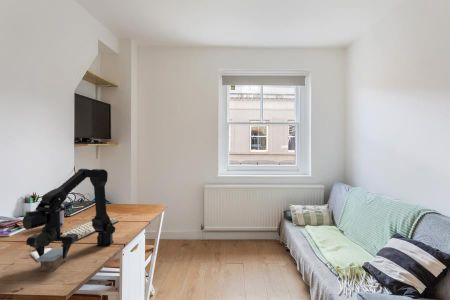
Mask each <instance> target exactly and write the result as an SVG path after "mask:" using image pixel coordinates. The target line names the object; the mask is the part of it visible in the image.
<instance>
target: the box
mask: <svg viewBox="0 0 450 300" xmlns="http://www.w3.org/2000/svg"><path fill="white" fill-rule="evenodd" d="M64 263H66V258H65V259H63V255H62V256H60V257H59V258H57V259H56V260H55V261H40V272H54V271H55V270H56V268H57V269H58V268H59V267H60V266H62V265H63V264H64ZM53 270H54V271H53Z"/></svg>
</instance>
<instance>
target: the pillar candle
mask: <svg viewBox="0 0 450 300" xmlns="http://www.w3.org/2000/svg"><path fill="white" fill-rule="evenodd" d="M61 206H62V207H63V208H65V205H64V204H63V203H62V204H61ZM48 208H49V207H48ZM60 223H62V226H61V229H63V228H64V226H65V210H63V211H60Z"/></svg>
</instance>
